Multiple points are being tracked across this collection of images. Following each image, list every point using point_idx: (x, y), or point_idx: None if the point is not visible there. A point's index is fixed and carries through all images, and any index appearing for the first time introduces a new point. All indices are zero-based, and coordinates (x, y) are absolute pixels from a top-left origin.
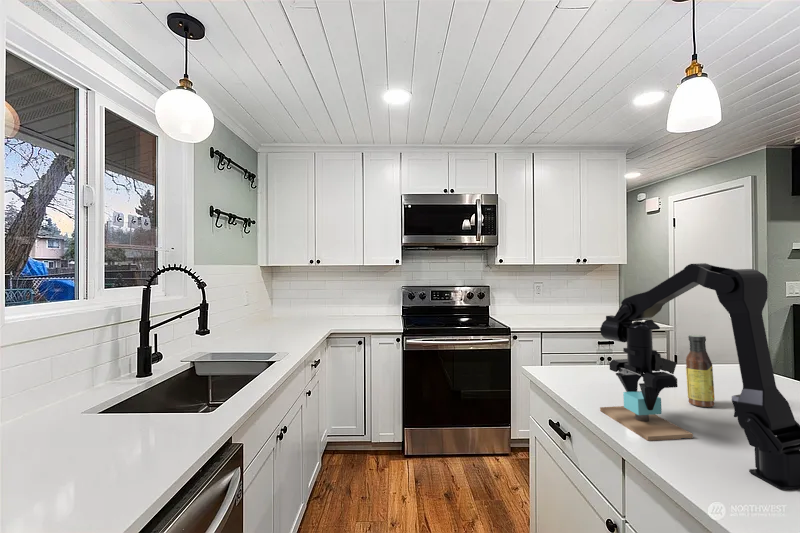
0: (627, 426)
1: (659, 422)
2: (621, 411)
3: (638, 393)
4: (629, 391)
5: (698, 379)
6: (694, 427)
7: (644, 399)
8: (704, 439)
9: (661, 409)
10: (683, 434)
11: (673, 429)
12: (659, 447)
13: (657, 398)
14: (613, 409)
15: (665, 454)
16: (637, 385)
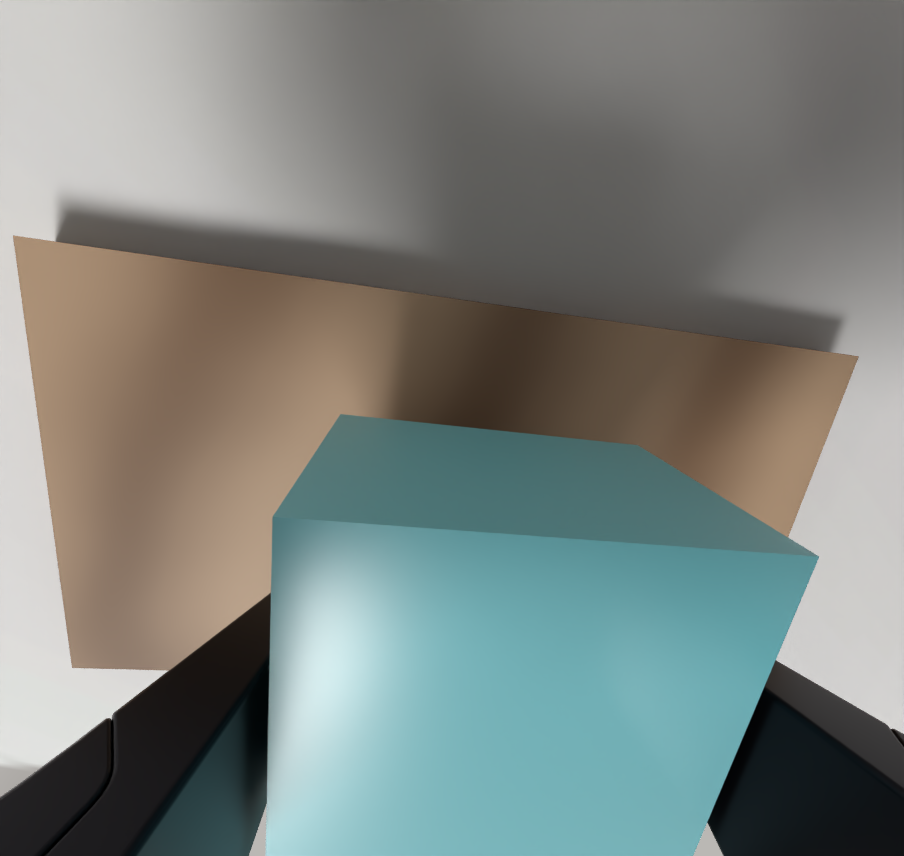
0: None
1: (566, 422)
2: (220, 555)
3: (415, 750)
4: (252, 826)
5: None
6: (683, 101)
7: (728, 836)
8: (874, 279)
9: (672, 467)
10: (826, 437)
11: (726, 431)
12: (797, 655)
13: (788, 622)
14: (150, 590)
15: (863, 680)
16: (159, 835)
